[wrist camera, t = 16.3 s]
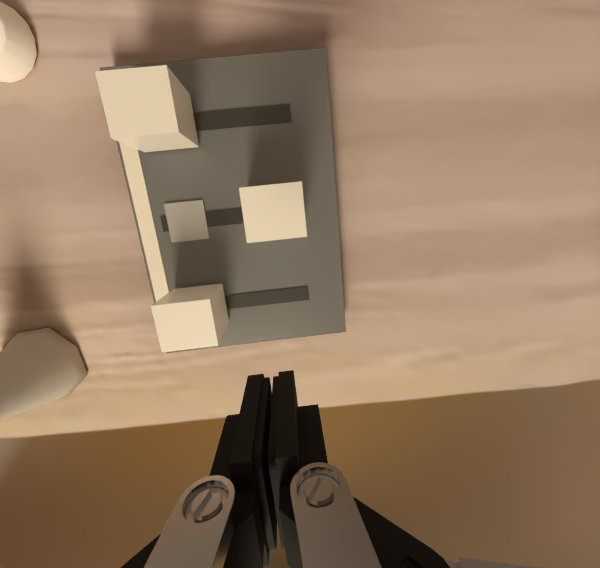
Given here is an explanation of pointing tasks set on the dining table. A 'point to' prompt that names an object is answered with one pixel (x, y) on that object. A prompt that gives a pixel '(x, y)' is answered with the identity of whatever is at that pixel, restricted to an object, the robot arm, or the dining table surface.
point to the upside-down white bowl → (15, 46)
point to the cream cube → (191, 317)
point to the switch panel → (226, 198)
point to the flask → (37, 370)
